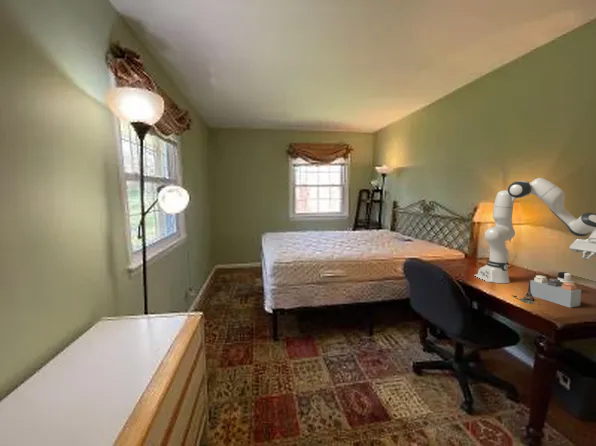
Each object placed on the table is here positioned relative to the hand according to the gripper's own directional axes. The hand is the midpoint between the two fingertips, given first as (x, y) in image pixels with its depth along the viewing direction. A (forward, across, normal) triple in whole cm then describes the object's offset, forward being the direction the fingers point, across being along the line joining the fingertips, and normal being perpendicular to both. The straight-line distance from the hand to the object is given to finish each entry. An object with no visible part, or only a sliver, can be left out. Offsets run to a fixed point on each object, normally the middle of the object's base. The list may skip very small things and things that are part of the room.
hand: (585, 259), depth 172 cm
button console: (+26, -8, +9) cm, 29 cm away
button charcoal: (+23, -7, +6) cm, 25 cm away
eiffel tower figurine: (+36, -13, 0) cm, 38 cm away
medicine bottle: (+11, -16, +25) cm, 32 cm away
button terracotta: (+23, 0, +6) cm, 24 cm away
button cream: (+23, -15, +6) cm, 28 cm away
